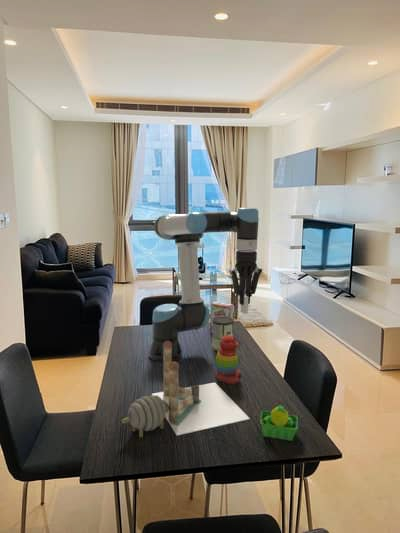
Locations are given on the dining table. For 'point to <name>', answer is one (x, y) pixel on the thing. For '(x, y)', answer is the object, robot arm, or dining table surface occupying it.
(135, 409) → the toy sheep
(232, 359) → the stacking bear
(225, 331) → the coffee can
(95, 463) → the dining table surface
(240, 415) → the card
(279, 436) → the fruit basket
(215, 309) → the candy bar box
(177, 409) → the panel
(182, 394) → the wooden post with ball
